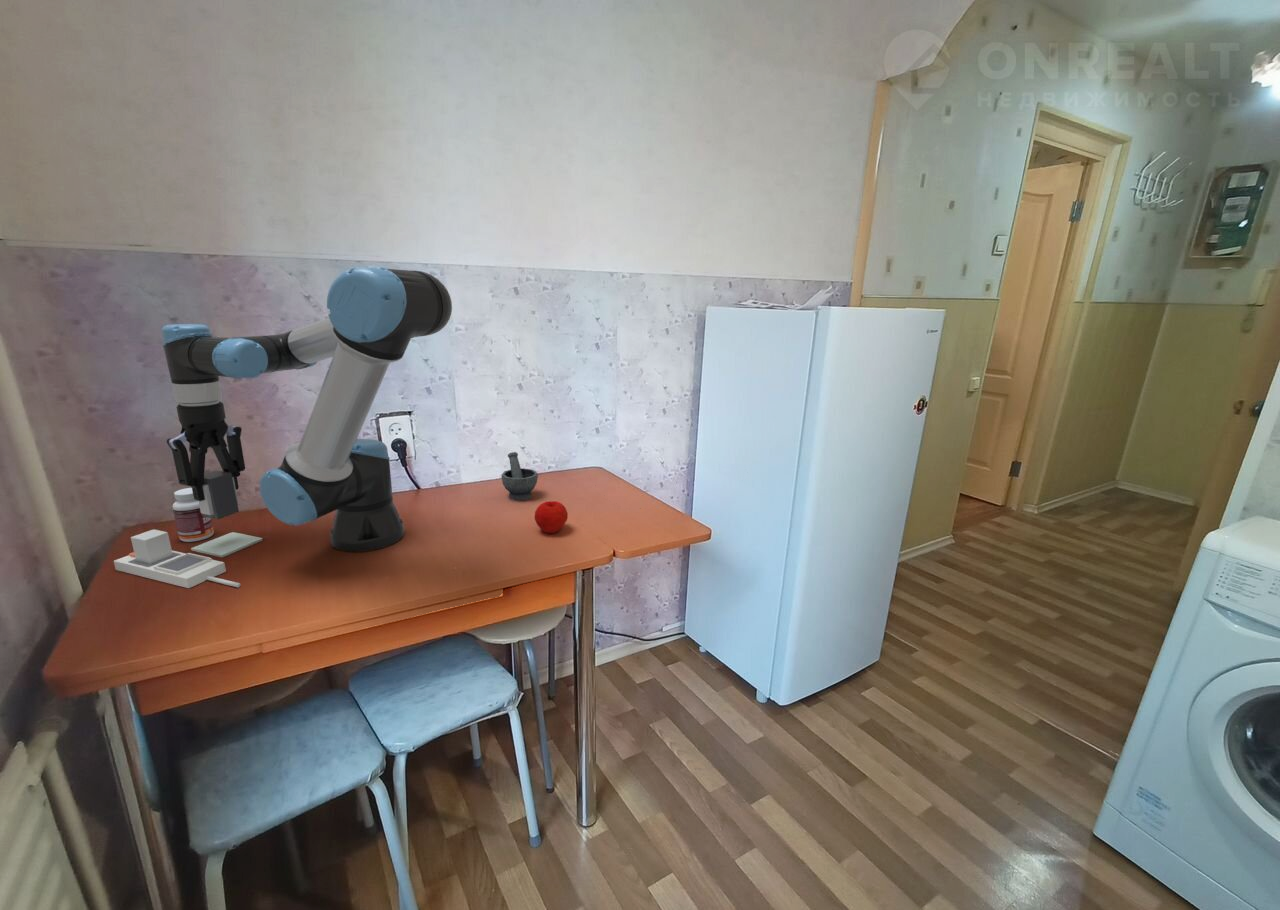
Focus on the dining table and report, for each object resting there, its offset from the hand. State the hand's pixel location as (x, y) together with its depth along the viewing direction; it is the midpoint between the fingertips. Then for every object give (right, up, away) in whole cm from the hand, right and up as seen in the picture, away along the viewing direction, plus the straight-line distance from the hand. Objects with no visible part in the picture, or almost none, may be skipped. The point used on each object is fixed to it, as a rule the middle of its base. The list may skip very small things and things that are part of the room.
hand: (220, 509), depth 117 cm
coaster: (0, -8, +2) cm, 9 cm away
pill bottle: (-10, -7, +6) cm, 13 cm away
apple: (+69, -7, +15) cm, 71 cm away
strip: (+1, -12, -10) cm, 16 cm away
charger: (0, -1, 0) cm, 1 cm away
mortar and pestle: (+56, 0, +37) cm, 67 cm away
